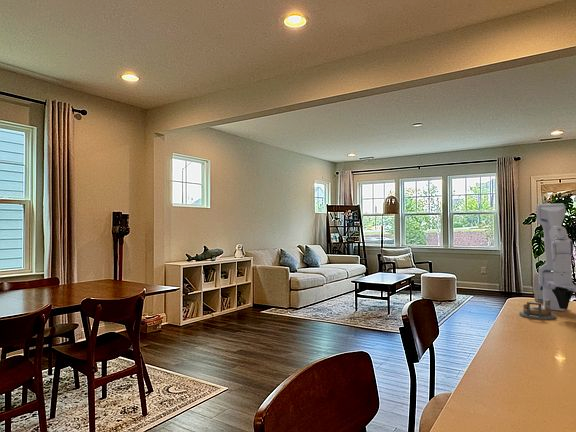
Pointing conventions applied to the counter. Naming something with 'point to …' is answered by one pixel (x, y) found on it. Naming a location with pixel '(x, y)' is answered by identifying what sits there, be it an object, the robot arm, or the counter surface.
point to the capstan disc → (536, 310)
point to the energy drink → (537, 290)
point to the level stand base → (540, 316)
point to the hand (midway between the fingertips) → (563, 308)
